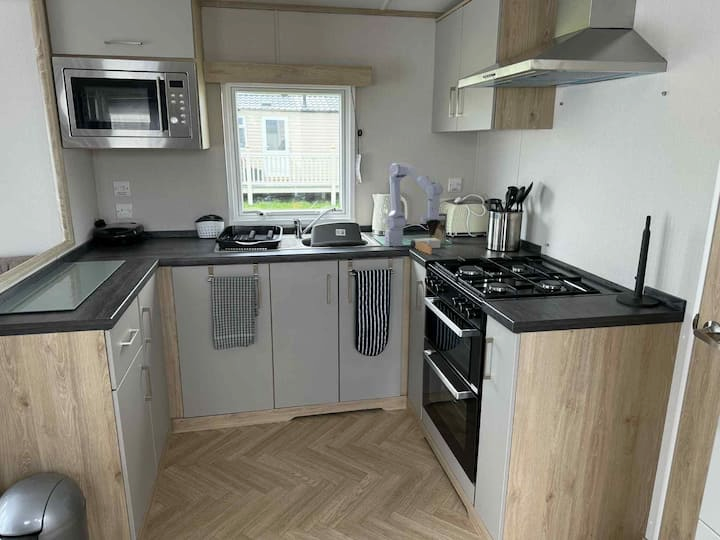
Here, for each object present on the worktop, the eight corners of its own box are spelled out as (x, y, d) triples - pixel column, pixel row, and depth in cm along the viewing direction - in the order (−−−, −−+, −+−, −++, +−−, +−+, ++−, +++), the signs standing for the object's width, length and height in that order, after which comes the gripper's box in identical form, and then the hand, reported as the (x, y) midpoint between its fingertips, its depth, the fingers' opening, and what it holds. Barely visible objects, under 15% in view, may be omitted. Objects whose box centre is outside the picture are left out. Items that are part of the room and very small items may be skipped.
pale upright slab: (414, 249, 269) (415, 241, 268) (409, 246, 276) (409, 239, 275) (440, 247, 274) (440, 240, 273) (434, 245, 281) (434, 238, 280)
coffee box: (446, 241, 292) (448, 213, 288) (444, 243, 286) (446, 214, 282) (430, 240, 295) (431, 212, 291) (428, 242, 289) (430, 213, 285)
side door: (415, 249, 268) (416, 236, 267) (418, 249, 269) (419, 236, 268) (429, 254, 256) (429, 241, 255) (432, 254, 257) (433, 240, 255)
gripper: (427, 209, 248) (426, 237, 251) (449, 208, 256) (448, 235, 259) (418, 208, 254) (417, 235, 257) (440, 206, 261) (439, 232, 265)
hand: (432, 234), depth 259 cm, fingers closed
